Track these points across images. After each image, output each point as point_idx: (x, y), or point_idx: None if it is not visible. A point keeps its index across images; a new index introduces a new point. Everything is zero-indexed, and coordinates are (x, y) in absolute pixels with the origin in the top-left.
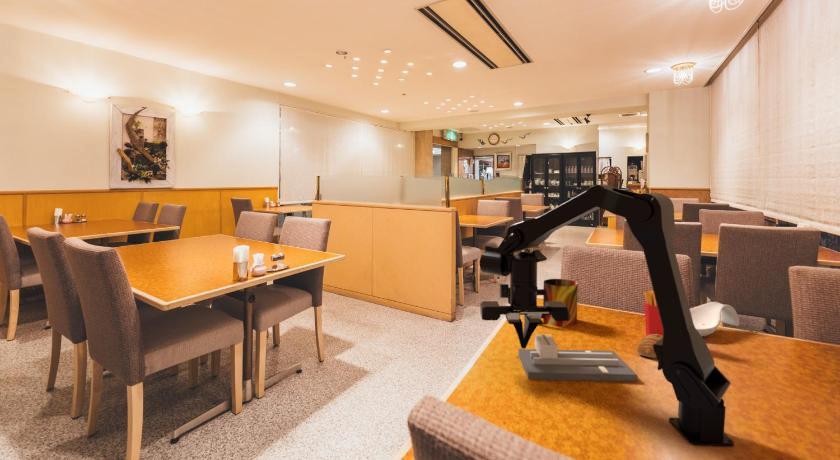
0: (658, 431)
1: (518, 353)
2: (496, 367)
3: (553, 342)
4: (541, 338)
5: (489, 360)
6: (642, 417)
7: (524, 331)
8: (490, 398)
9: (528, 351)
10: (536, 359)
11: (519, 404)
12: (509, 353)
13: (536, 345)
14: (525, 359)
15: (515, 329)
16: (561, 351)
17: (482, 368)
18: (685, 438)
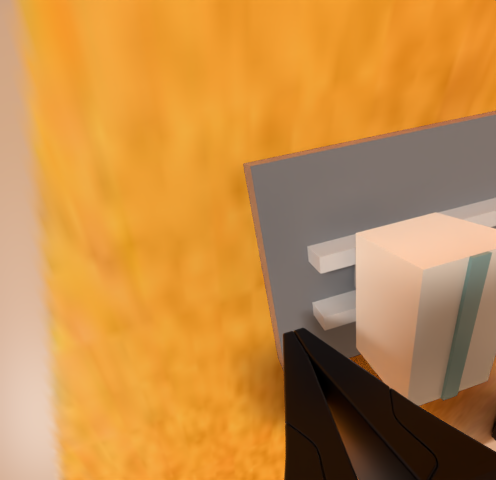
0: (469, 425)
1: (245, 168)
2: (156, 319)
3: (483, 357)
4: (441, 324)
5: (105, 266)
6: (470, 402)
7: (363, 444)
8: (179, 471)
9: (304, 187)
10: (333, 325)
11: (251, 460)
12: (193, 149)
13: (372, 280)
14: (283, 285)
15: (287, 467)
16: (465, 143)
17: (99, 345)
18: (493, 430)
